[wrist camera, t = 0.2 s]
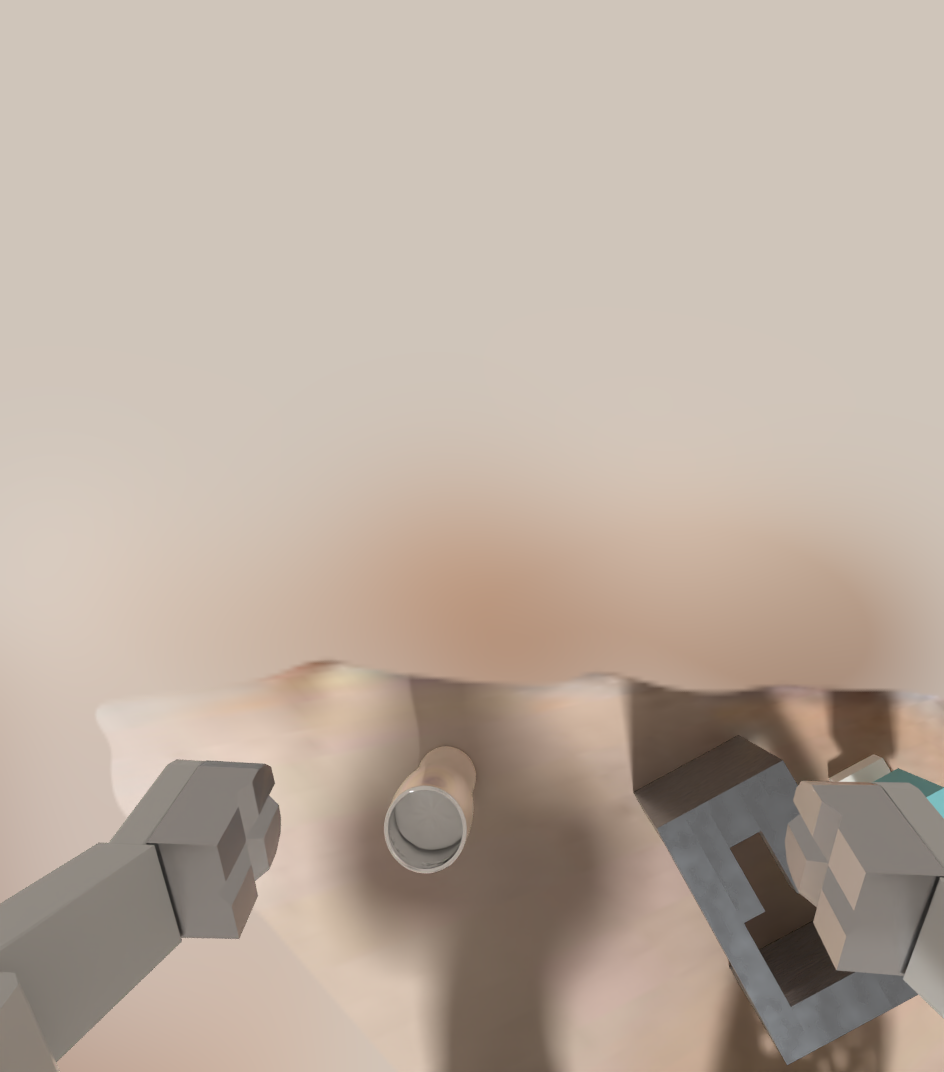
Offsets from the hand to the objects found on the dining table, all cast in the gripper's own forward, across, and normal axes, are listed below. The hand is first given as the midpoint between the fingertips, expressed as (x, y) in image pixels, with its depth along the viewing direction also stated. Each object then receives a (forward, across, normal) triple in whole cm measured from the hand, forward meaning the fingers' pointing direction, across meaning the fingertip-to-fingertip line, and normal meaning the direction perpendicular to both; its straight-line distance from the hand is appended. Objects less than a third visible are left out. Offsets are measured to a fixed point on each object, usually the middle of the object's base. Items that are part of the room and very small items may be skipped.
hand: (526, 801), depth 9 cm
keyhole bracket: (+38, +22, -44) cm, 62 cm away
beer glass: (+41, -7, -38) cm, 57 cm away
